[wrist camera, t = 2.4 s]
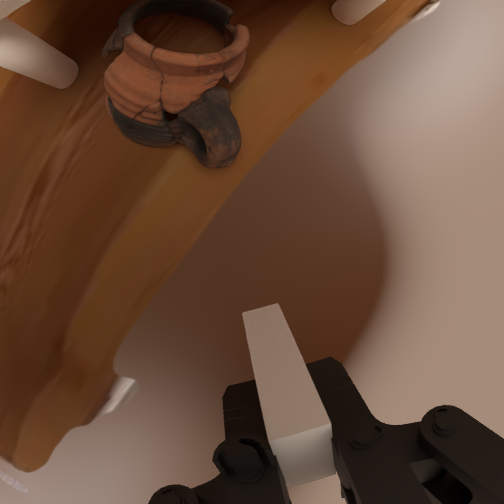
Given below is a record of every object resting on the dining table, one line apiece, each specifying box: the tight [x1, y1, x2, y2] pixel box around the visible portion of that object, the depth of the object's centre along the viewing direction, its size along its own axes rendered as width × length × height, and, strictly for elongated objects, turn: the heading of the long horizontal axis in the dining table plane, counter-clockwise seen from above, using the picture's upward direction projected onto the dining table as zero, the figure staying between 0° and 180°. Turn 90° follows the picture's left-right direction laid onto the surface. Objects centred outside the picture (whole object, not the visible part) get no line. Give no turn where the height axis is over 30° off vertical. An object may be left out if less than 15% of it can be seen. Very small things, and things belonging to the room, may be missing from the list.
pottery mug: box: [102, 0, 250, 168], centre depth 17 cm, size 12×10×8 cm
